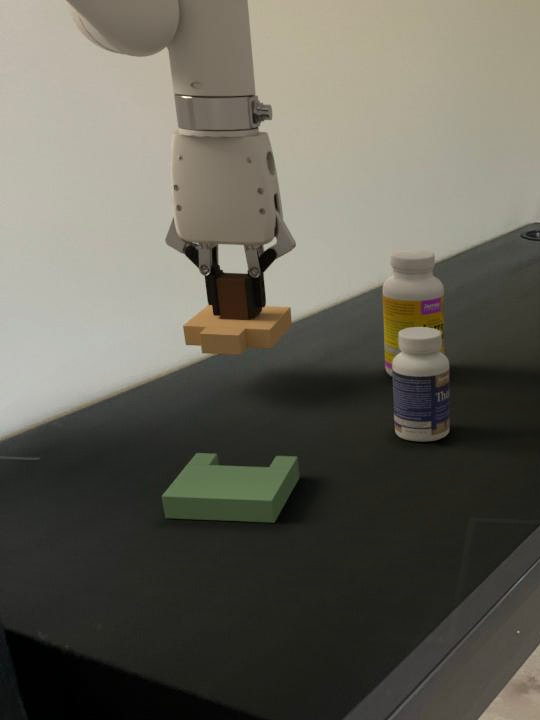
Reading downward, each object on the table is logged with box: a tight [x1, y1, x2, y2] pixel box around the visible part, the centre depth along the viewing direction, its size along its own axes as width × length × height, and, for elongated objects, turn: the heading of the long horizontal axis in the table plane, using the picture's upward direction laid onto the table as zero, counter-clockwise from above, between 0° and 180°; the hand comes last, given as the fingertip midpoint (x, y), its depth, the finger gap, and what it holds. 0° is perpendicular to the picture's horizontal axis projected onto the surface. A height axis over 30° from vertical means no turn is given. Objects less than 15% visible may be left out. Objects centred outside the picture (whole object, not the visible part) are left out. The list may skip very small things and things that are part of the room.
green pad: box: [161, 452, 301, 524], centre depth 83 cm, size 9×9×2 cm
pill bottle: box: [391, 327, 451, 443], centre depth 93 cm, size 5×5×10 cm
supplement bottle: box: [382, 248, 445, 377], centre depth 108 cm, size 7×7×13 cm
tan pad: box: [182, 272, 293, 356], centre depth 102 cm, size 9×12×6 cm
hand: (238, 311), depth 104 cm, fingers closed on tan pad, 3 cm apart
